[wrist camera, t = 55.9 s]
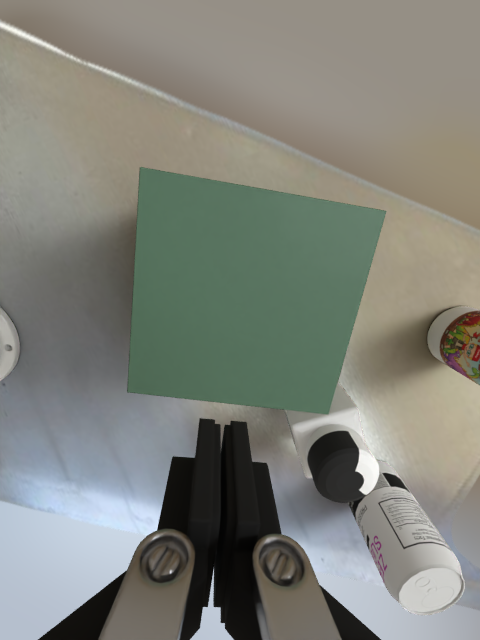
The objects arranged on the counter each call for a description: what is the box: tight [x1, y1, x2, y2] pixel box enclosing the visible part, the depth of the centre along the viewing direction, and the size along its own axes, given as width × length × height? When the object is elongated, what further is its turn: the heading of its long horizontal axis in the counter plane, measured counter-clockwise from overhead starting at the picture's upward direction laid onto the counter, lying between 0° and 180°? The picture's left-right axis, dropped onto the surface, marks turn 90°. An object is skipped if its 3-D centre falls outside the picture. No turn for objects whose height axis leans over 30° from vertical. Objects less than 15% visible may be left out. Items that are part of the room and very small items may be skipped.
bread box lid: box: [127, 167, 386, 415], centre depth 22 cm, size 15×16×1 cm
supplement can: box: [348, 460, 465, 615], centre depth 39 cm, size 8×8×15 cm
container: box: [284, 382, 379, 503], centre depth 36 cm, size 8×8×13 cm
